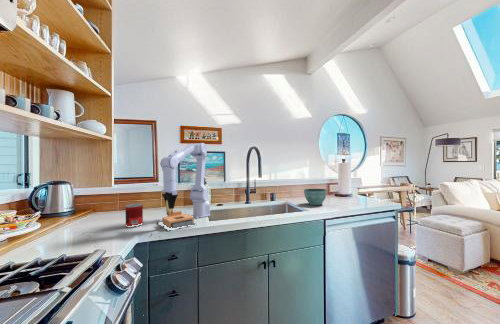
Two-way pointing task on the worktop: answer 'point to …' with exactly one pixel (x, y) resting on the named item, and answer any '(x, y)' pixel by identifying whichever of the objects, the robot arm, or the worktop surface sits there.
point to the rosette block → (182, 223)
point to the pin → (169, 211)
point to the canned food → (134, 214)
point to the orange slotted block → (176, 218)
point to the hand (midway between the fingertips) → (170, 208)
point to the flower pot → (315, 196)
